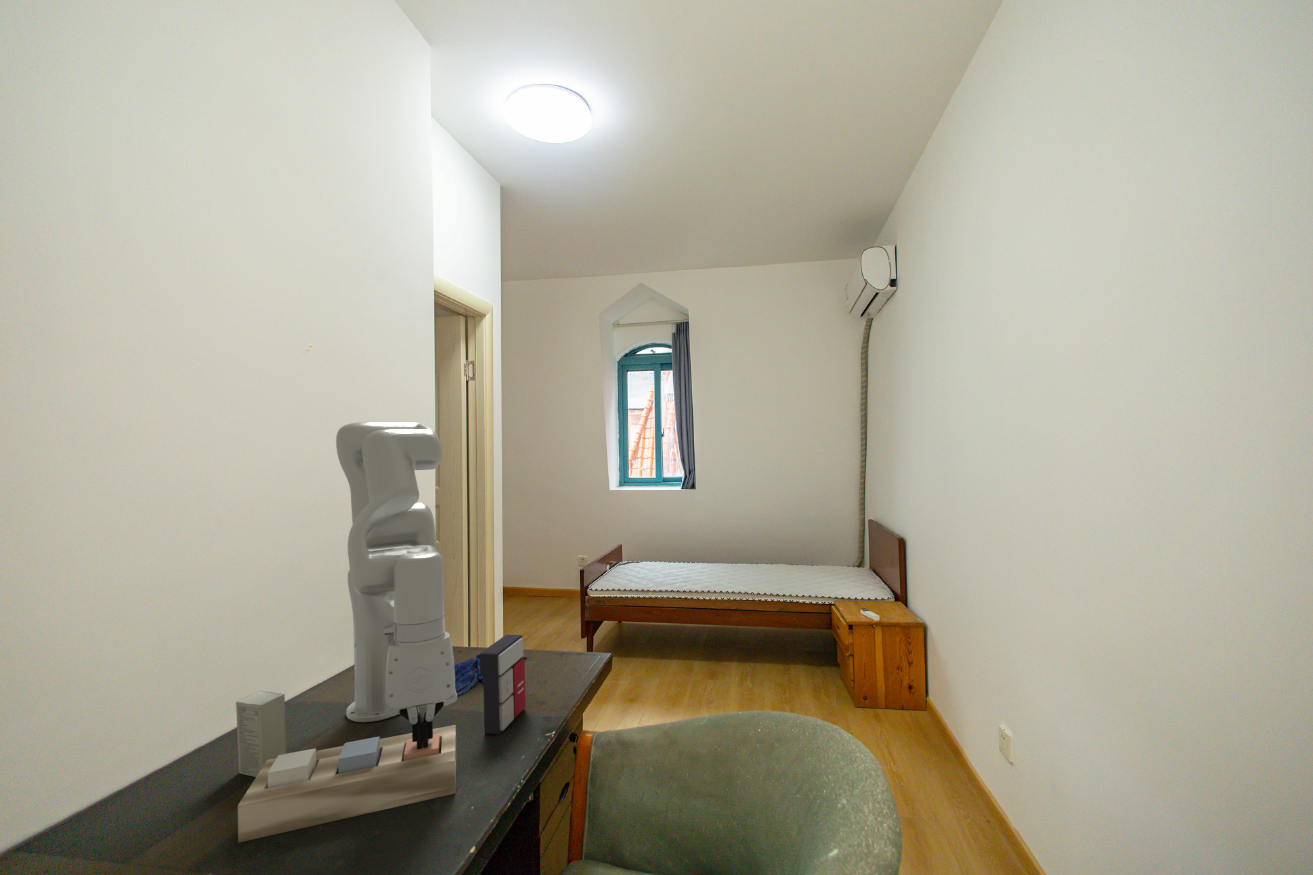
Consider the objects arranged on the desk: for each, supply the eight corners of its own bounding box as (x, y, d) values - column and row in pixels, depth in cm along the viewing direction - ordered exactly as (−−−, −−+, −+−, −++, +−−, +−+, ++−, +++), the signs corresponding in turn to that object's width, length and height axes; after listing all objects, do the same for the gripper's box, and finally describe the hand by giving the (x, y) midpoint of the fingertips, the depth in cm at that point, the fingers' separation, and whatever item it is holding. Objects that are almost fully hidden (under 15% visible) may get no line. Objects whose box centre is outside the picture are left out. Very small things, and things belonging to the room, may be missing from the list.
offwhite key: (278, 774, 84) (278, 755, 84) (316, 767, 85) (316, 748, 86) (267, 793, 79) (267, 772, 79) (307, 785, 81) (307, 765, 81)
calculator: (502, 735, 101) (500, 654, 102) (481, 734, 102) (479, 653, 102) (527, 708, 112) (526, 634, 112) (508, 706, 113) (506, 633, 113)
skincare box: (288, 765, 94) (287, 693, 94) (262, 780, 89) (261, 705, 90) (262, 759, 96) (261, 689, 96) (235, 773, 92) (234, 700, 92)
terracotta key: (407, 757, 90) (406, 739, 90) (440, 751, 91) (439, 733, 92) (404, 774, 85) (403, 754, 85) (438, 767, 87) (438, 748, 87)
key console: (267, 792, 86) (267, 760, 86) (456, 753, 96) (455, 724, 96) (238, 842, 75) (237, 805, 75) (455, 793, 84) (454, 760, 84)
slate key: (345, 761, 87) (344, 742, 87) (380, 755, 88) (379, 736, 89) (338, 779, 82) (338, 759, 82) (375, 771, 84) (375, 751, 84)
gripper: (364, 643, 83) (367, 767, 82) (469, 629, 88) (472, 745, 87) (372, 629, 90) (374, 743, 89) (468, 617, 95) (471, 724, 94)
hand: (422, 744), depth 88 cm, fingers closed
